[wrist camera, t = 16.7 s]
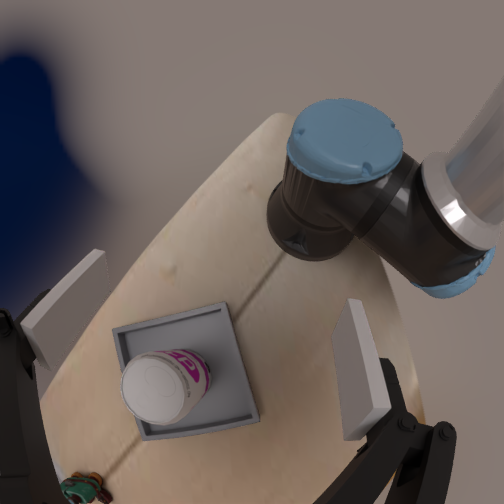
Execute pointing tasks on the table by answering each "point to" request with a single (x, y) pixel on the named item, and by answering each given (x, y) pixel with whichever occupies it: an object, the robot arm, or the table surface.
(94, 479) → the binoculars
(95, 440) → the table surface
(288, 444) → the table surface
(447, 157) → the robot arm
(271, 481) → the table surface
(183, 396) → the supplement can
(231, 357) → the tray
